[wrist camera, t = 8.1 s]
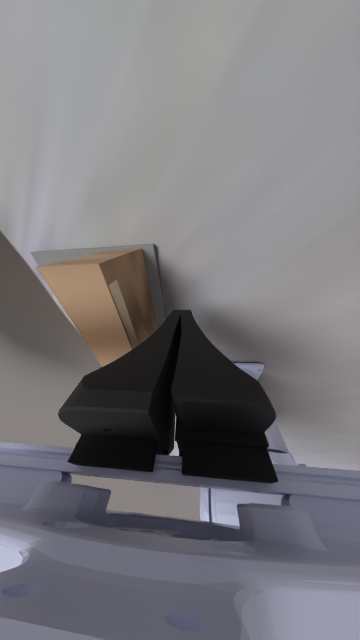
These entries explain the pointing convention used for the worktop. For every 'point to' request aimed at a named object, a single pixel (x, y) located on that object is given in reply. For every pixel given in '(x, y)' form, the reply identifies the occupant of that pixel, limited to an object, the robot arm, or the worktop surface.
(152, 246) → the mat
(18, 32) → the worktop surface
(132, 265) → the slab
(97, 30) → the worktop surface
